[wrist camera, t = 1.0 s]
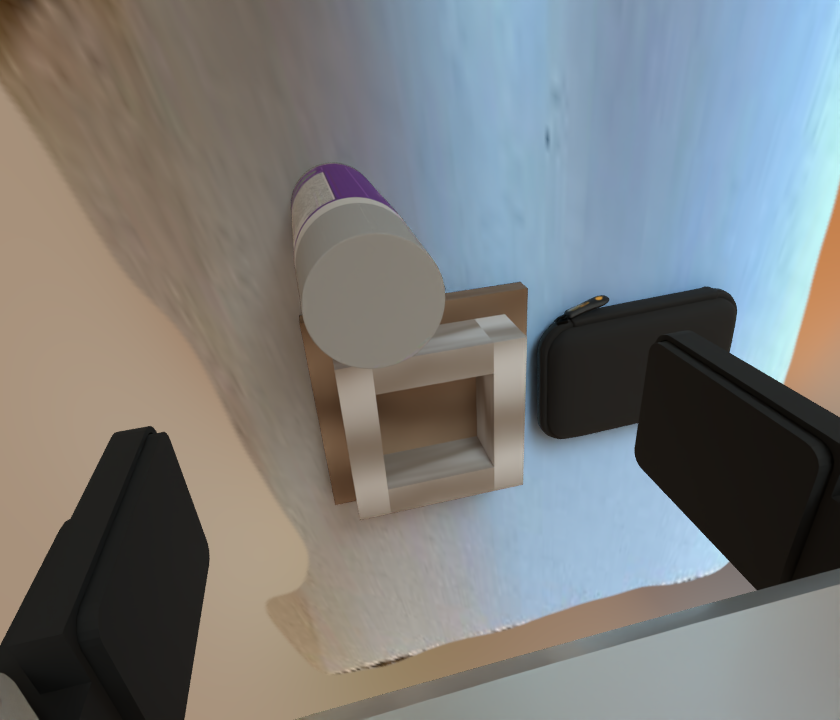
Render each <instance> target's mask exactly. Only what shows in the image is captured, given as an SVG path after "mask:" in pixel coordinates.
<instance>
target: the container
mask: <svg viewBox="0 0 840 720" xmlns="http://www.w3.org/2000/svg"><path fill="white" fill-rule="evenodd" d="M291 215H292V232H293V250H294V264H295V270H296V277H297V283H298V290H299V297H300V303H301V310H302V316H303V320H304V324H305V326H306V329H307V331H308V333H309V335H310V337H311V338H312V340H313V341H314V343H315V344H316V345H317V346H318V347H319V348H320V349H321V350H322V351H323V352H324V353H325V354H327V355H328V356H329V357H331V358H332V359H334V360H336V361H338V362H340V363H342V364H345V365H348V366H351V367H356V368H362V369H377V368H384V367H389V366H393V365H396V364H398V363H401V362H403V361H405V360H407V359H409V358H410V357H412V356H413V355H415V354H416V353H418V352H419V351H420V350H421V349H422V348H423V347H424V346H425V345H426V344H427V343H428V342H429V341H430V339H431V338H432V337H433V335H434V334H435V332H436V330H437V329H438V327H439V324H440V322H441V319H442V316H443V312H444V307H445V288H444V283H443V279H442V276H441V273H440V271H439V269H438V267H437V265H436V264H435V262H434V261H433V259H432V258H431V257H430V255H429V254H428V253H427V251H426V250H425V249H424V247H423V246H422V245H421V243H420V242H419V241H418V239H417V238H416V237H415V235H414V234H413V233H412V231H411V230H410V228H409V227H408V226H407V224H406V223H405V221H404V220H403V219H402V218H401V216H400V215H399V214H398V213H397V212H396V211H395V210H394V209H393V208H392V207H391V205H390V204H389V203H388V202H387V201H386V200H385V199H384V198H383V197H382V195H381V194H380V193H379V192H378V191H377V190H376V189H375V188H374V187H373V186H372V184H371V183H370V182H369V181H368V180H367V179H366V178H365V177H364V176H363V175H362V174H361V173H360V172H358V171H357V170H355V169H354V168H352V167H350V166H347V165H344V164H340V163H325V164H321V165H318V166H315V167H313V168H312V169H310V170H308V171H307V172H306V173H305V174H304V175H303V176H302V177H301V178H300V179H299V181H298V182H297V184H296V186H295V188H294V191H293V194H292V200H291Z"/></svg>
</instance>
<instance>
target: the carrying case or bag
mask: <svg viewBox="0 0 840 720" xmlns="http://www.w3.org/2000/svg"><path fill="white" fill-rule="evenodd" d="M608 301H609V298H608V297H607V296H604V295H601V296H596V297H593V298H591V299H589V300H587V301H585V302H583V303H581V304H579V305H577V306H575V307H573V308H571V309H568V310H566V311H565V312H564V313H565V314H564V315H562V316H560V317H558V318H557V319H556V320H555V323H553V324H552V325H551V326H550V327H549V328H548V329H547V330H546V331H545V332H544V334H543V336H542V337H541V340H540V342H539V345H538V423H539V426H540V427H541V429H542V430H543V432H544V433H545V434H547V435H548V436H551V437H553V438H557V439H566V438H572V437H578V436H583V435H587V434H592V433H596V432H600V431H605V430H609V429H613V428H618V427H622V426H627V425H631V424H635V423H638V422H639V415H640V409H641V402H642V395H643V388H644V381H645V375H646V368H647V361H648V354H649V349H650V347H651V345H653V344H654V343H655V342H656V340H657V338H658V337H659V336H661V335H664V334H669V333H675V332H681V331H687V330H690V331H693V332H695V333H697V334H698V335H700V336H702V337H703V338H705V339H707V340H708V341H710V342H712V343H714V344H715V345H717V346H719V347H720V348H722V349H724V350H725V351H727V352H729V353H730V348H731V343H732V338H733V333H734V328H735V322H736V315H737V306H736V303H735V301H734V299H733V297H732V296H731V295H730V294H729V293H727V292H726V291H724V290H721V289H716V288H711V287H702V288H699V289H694V290H689V291H684V292H678V293H673V294H668V295H663V296H658V297H653V298H648V299H642V300H637V301H632V302H627V303H622V304H617V305H612V306H606V307H601V306H603V305H605V304H606V303H607V302H608ZM599 307H601V308H599Z"/></svg>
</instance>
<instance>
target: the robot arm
mask: <svg viewBox="0 0 840 720" xmlns="http://www.w3.org/2000/svg"><path fill="white" fill-rule="evenodd" d="M635 457H636V461H637V463H638V465H639V466H640V467H641V468H642V470H643V471H644V472H645V473H646V474H647V475H648V476H649V477H650V478H651V479H652V480H653V481H654V482H655V483H656V484H657V485H658V486H659V487H660V489H661V490H662V491H663V492H664V493H665V494H666V495H667V496H668V497H669V498H670V499H671V500H672V501H673V502H674V503H675V504H676V505H677V506H678V507H679V509H680V510H681V511H682V512H683V513H684V514H685V515H686V516H687V517H688V518H689V519H690V520H691V521H692V522H693V523H694V524H695V525H696V526H697V528H698V529H699V530H700V531H701V532H702V533H703V534H704V535H705V536H706V537H707V538H708V539H709V540H710V541H711V542H712V543H713V544H714V545H715V547H716V548H717V549H718V550H719V551H720V552H721V553H722V554H723V555H724V556H725V557H726V558H727V559H728V560H729V561H730V562H731V563H732V564H733V566H734V567H735V568H736V569H737V570H738V571H739V572H740V573H741V574H742V575H743V576H744V577H745V578H746V579H747V580H748V581H749V582H750V583H751V584H752V586H753V587H754V588H755V589H756V590H757V591H754V592H750V593H746V594H742V595H739V596H736V597H731V598H728V599H724V600H721V601H717V602H713V603H709V604H705V605H702V606H698V607H694V608H691V609H687V610H684V611H680V612H677V613H673V614H669V615H666V616H662V617H658V618H655V619H651V620H647V621H644V622H640V623H636V624H633V625H629V626H625V627H622V628H618V629H615V630H611V631H607V632H604V633H600V634H597V635H593V636H589V637H586V638H582V639H578V640H575V641H572V642H568V643H564V644H561V645H557V646H553V647H550V648H546V649H543V650H539V651H535V652H532V653H528V654H524V655H521V656H517V657H514V658H510V659H506V660H503V661H499V662H496V663H492V664H489V665H485V666H482V667H478V668H474V669H471V670H467V671H464V672H460V673H457V674H453V675H450V676H447V677H443V678H439V679H436V680H432V681H429V682H425V683H422V684H418V685H414V686H411V687H407V688H404V689H400V690H397V691H393V692H390V693H386V694H382V695H379V696H375V697H372V698H368V699H365V700H361V701H358V702H354V703H351V704H348V705H344V706H340V707H337V708H333V709H330V710H326V711H323V712H319V713H315V714H312V715H309V716H305V717H302V718H299V719H295V720H840V417H838V416H836V415H835V414H833V413H831V412H829V411H828V410H826V409H824V408H823V407H821V406H819V405H817V404H816V403H814V402H812V401H811V400H809V399H807V398H806V397H804V396H802V395H800V394H799V393H797V392H795V391H794V390H792V389H790V388H788V387H787V386H785V385H783V384H782V383H780V382H778V381H777V380H775V379H773V378H772V377H770V376H768V375H766V374H765V373H763V372H761V371H760V370H758V369H756V368H754V367H753V366H751V365H749V364H748V363H746V362H744V361H743V360H741V359H739V358H737V357H736V356H734V355H732V354H731V353H729V352H727V351H725V350H724V349H722V348H720V347H719V346H717V345H715V344H714V343H712V342H710V341H708V340H707V339H705V338H703V337H702V336H700V335H698V334H697V333H695V332H693V331H690V330H687V331H681V332H675V333H669V334H664V335H661V336H659V337H658V338H657V340H656V342H655V343H654V344H653V345H651V347H650V349H649V354H648V361H647V368H646V375H645V381H644V388H643V395H642V402H641V409H640V415H639V422H638V429H637V436H636V443H635ZM208 568H209V548H208V543H207V540H206V537H205V534H204V532H203V529H202V526H201V523H200V521H199V518H198V515H197V512H196V510H195V507H194V504H193V502H192V499H191V496H190V493H189V491H188V488H187V485H186V482H185V479H184V477H183V474H182V472H181V468H180V466H179V463H178V460H177V457H176V455H175V452H174V449H173V447H172V444H171V441H170V439H169V436H168V435H167V433H165V432H161V433H157V432H156V430H155V429H154V428H153V427H151V426H148V427H143V428H137V429H131V430H126V431H120V432H116V433H114V434H113V435H112V437H111V439H110V441H109V443H108V445H107V447H106V449H105V451H104V453H103V455H102V457H101V459H100V461H99V463H98V465H97V467H96V469H95V471H94V473H93V475H92V477H91V479H90V481H89V483H88V485H87V487H86V489H85V491H84V493H83V495H82V497H81V499H80V501H79V503H78V505H77V507H76V509H75V511H74V513H73V515H72V517H71V519H69V520H68V521H66V522H65V523H64V524H63V526H62V527H61V529H60V530H59V532H58V534H57V536H56V538H55V540H54V542H53V544H52V546H51V548H50V550H49V551H48V554H47V555H46V557H45V559H44V561H43V563H42V566H41V567H40V569H39V571H38V573H37V575H36V577H35V579H34V581H33V583H32V585H31V586H30V589H29V590H28V592H27V594H26V596H25V598H24V600H23V602H22V604H21V606H20V608H19V610H18V612H17V614H16V616H15V618H14V620H13V622H12V624H11V626H10V627H9V629H8V631H7V633H6V636H5V637H4V639H3V641H2V643H1V645H0V720H184V718H185V712H186V705H187V699H188V692H189V687H190V680H191V674H192V668H193V661H194V655H195V649H196V642H197V637H198V630H199V623H200V617H201V611H202V604H203V599H204V593H205V586H206V579H207V574H208Z"/></svg>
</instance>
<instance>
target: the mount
mask: <svg viewBox="0 0 840 720" xmlns="http://www.w3.org/2000/svg"><path fill="white" fill-rule="evenodd" d="M527 298H528V288H527V287H526V286H525V285H523V284H522V283H521V282H517V283H510V284H504V285H497V286H490V287H484V288H477V289H471V290H464V291H458V292H451V293H445V307H444V312H443V316H442V319H441V322H440V324H439V327H438V329H437V330H436V332H435V334H434V335H433V337H432V338H431V339H430V341H429V342H428V343H427V344H426V345H425V346H424V347H423V348H422V349H421V350H420V351H419V352H418V353H416V354H415V355H413V356H412V357H410V358H409V359H407V360H405V361H403V362H401V363H398V364H396V365H393V366H389V367H384V368H377V369H362V368H356V367H351V366H348V365H345V364H342V363H340V362H338V361H336V360H334V359H332V358H331V357H329V356H328V355H327V354H325V353H324V352H323V351H322V350H321V349H320V348H319V347H318V346H317V345H316V344H315V343H314V341H313V340H312V338H311V337H310V335H309V333H308V331H307V329H306V326H305V324H304V320H303V316H302V315H300V316H299V321H300V328H301V333H302V338H303V343H304V348H305V353H306V358H307V363H308V368H309V373H310V378H311V384H312V389H313V394H314V399H315V404H316V409H317V414H318V419H319V424H320V429H321V434H322V439H323V444H324V450H325V455H326V460H327V465H328V470H329V475H330V480H331V485H332V490H333V495H334V500H335V505H338V504H342V503H347V502H352V501H356V500H357V505H358V511H359V516H360V520H363V519H368V518H373V517H377V516H382V515H386V514H391V513H395V512H400V511H404V510H409V509H413V508H418V507H423V506H427V505H432V504H436V503H441V502H445V501H450V500H454V499H459V498H464V497H468V496H473V495H477V494H482V493H486V492H491V491H495V490H500V489H504V488H509V487H514V486H518V485H523V460H524V425H525V390H526V355H527V337H526V334H527Z"/></svg>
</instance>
